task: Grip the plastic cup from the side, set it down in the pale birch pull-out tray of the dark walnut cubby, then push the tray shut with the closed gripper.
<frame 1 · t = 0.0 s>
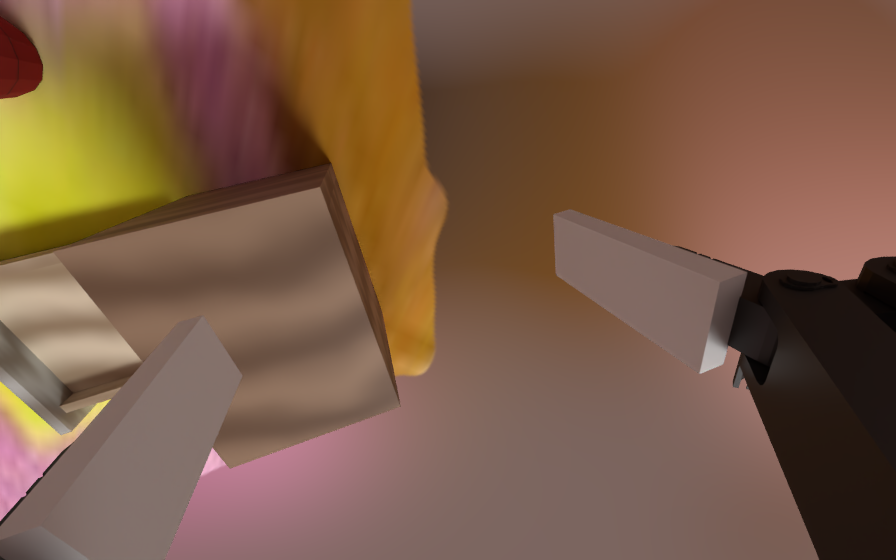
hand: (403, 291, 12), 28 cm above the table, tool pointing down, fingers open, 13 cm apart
tray: (113, 321, 33), point 2 cm above the table, slide at 14.0 cm
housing: (309, 260, 39), on the table
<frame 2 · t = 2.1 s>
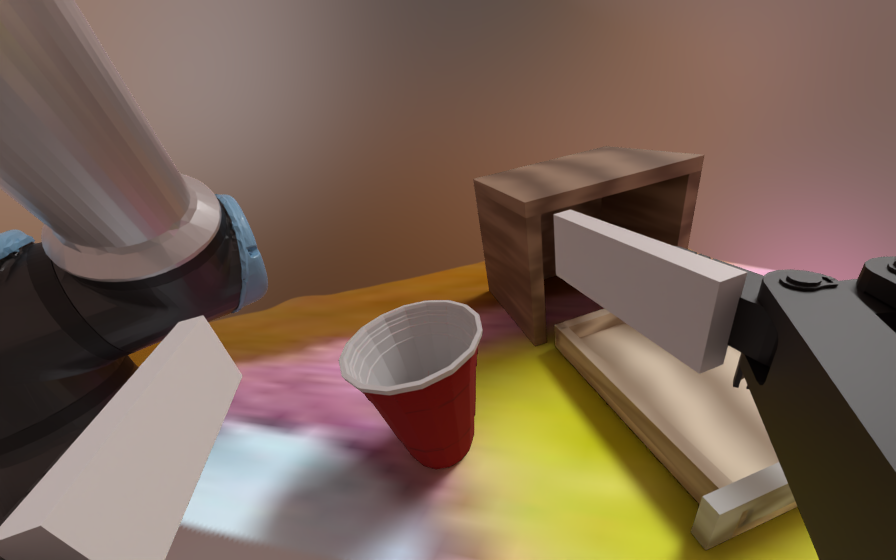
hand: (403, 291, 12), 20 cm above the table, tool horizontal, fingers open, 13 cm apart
plastic cup: (440, 438, 30), on the table
tray: (698, 366, 28), point 2 cm above the table, slide at 14.0 cm
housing: (568, 289, 47), on the table
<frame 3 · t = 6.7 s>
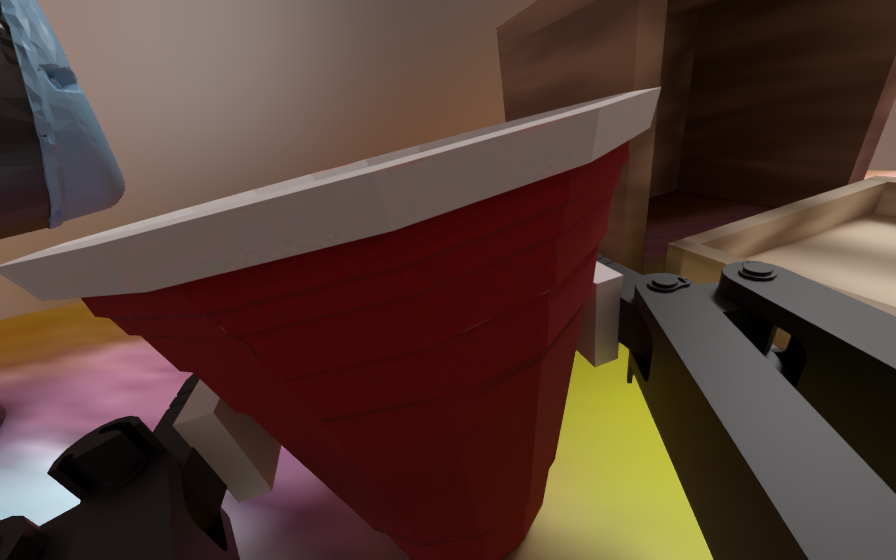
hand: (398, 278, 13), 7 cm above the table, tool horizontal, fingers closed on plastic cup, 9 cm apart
plastic cup: (460, 477, 13), on the table, touching gripper
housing: (644, 220, 30), on the table
when the fingers open (9 cm above the table, at t = 11.9 s): plastic cup drops 2 cm, resting on tray.
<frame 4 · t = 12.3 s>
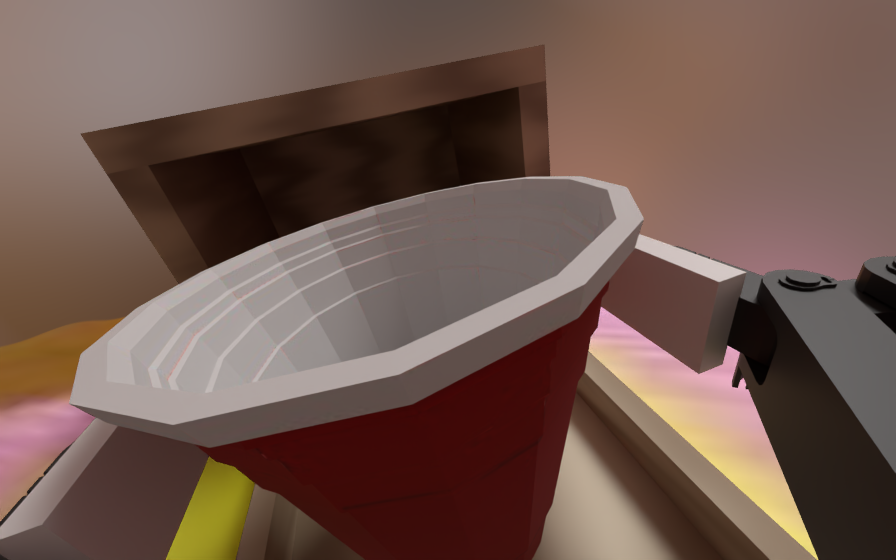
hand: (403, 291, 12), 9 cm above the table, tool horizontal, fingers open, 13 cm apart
plastic cup: (462, 509, 13), point 1 cm above the table, touching tray
tray: (481, 543, 11), point 2 cm above the table, slide at 14.0 cm, touching plastic cup
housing: (405, 313, 29), on the table
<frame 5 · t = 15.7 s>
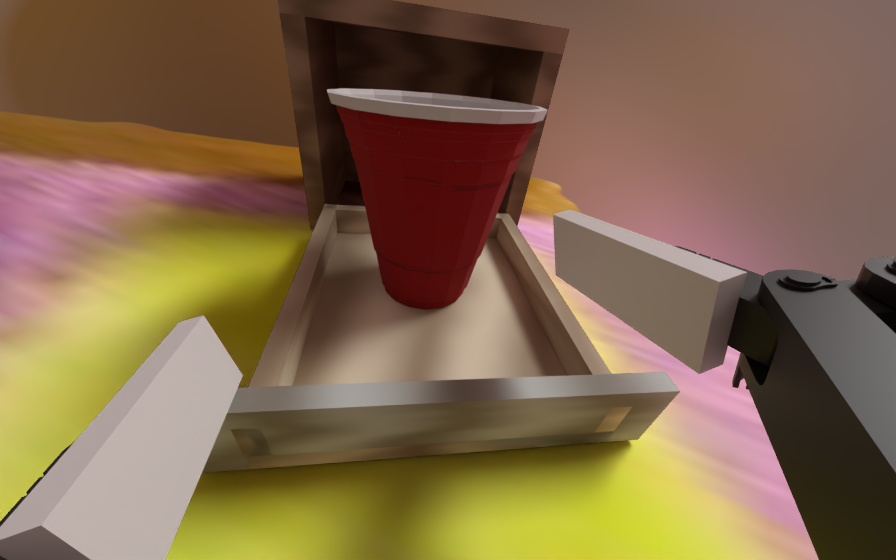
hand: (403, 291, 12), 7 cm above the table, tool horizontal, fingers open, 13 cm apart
plastic cup: (422, 284, 23), point 1 cm above the table, touching tray
tray: (429, 286, 21), point 2 cm above the table, slide at 14.3 cm, touching gripper, plastic cup
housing: (413, 199, 38), on the table
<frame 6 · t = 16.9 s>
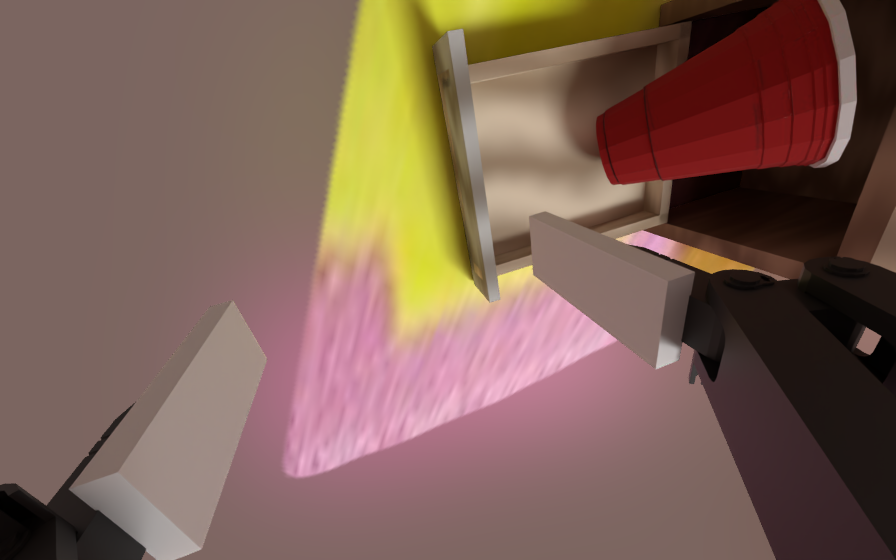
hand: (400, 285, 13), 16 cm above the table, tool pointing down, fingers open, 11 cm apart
plastic cup: (603, 150, 27), point 3 cm above the table, touching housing, tray
tray: (571, 159, 28), point 2 cm above the table, slide at 13.0 cm, touching plastic cup
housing: (721, 115, 33), on the table
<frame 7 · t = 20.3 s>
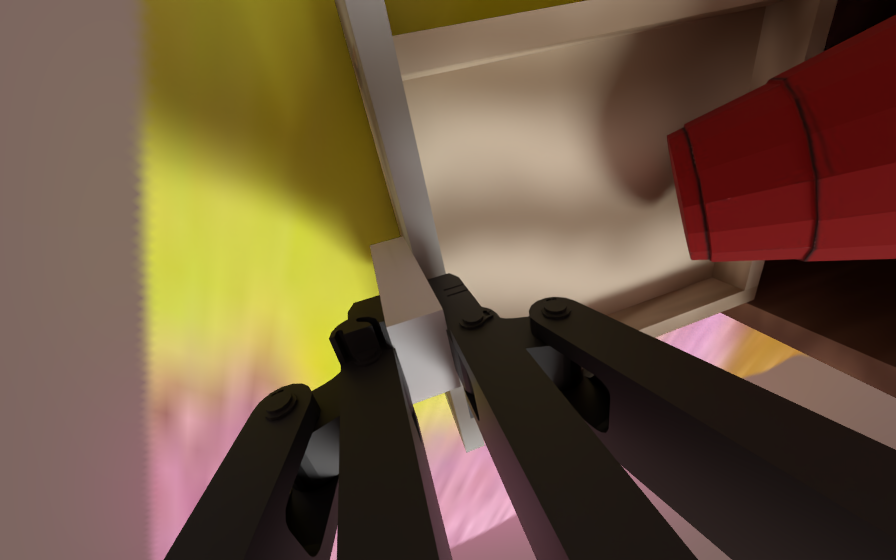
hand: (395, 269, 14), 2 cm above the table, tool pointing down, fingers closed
plastic cup: (671, 198, 15), point 3 cm above the table, touching tray
tray: (608, 211, 16), point 2 cm above the table, slide at 12.5 cm, touching gripper, plastic cup
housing: (831, 128, 20), on the table
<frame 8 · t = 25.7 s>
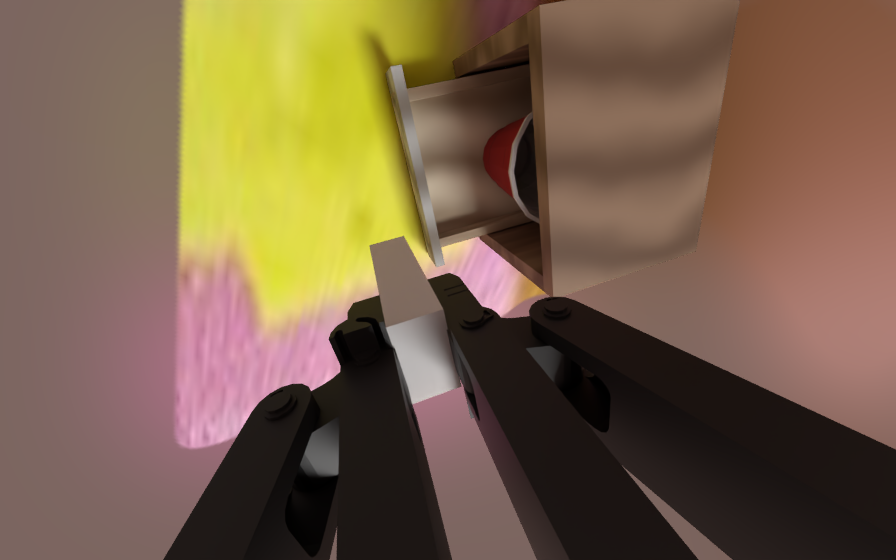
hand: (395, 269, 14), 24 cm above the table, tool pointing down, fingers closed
plastic cup: (506, 154, 37), point 1 cm above the table, touching tray
tray: (497, 157, 36), point 2 cm above the table, slide at 0.3 cm, touching plastic cup
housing: (534, 144, 39), on the table
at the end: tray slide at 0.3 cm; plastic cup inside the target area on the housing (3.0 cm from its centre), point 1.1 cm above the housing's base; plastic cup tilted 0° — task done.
